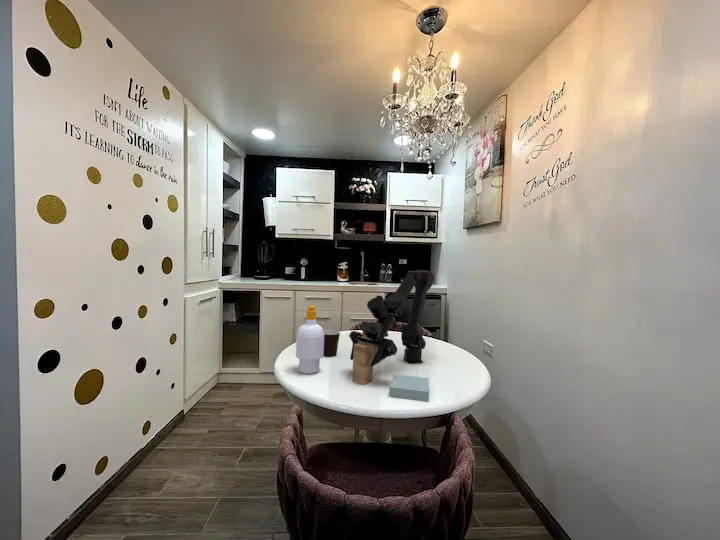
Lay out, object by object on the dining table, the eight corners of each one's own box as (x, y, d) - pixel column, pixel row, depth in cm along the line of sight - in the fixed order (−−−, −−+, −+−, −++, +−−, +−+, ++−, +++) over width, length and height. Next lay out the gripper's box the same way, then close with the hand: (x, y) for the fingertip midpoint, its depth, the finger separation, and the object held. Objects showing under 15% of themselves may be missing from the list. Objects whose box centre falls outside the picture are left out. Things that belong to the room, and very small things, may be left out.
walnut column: (361, 377, 118) (363, 341, 117) (372, 381, 114) (374, 344, 114) (352, 381, 114) (353, 344, 113) (363, 385, 110) (364, 347, 110)
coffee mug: (331, 359, 137) (332, 335, 137) (315, 355, 141) (316, 332, 141) (346, 352, 147) (347, 330, 147) (330, 349, 152) (331, 328, 151)
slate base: (393, 382, 114) (393, 374, 114) (428, 386, 112) (428, 378, 111) (389, 396, 102) (389, 387, 102) (428, 401, 100) (428, 391, 100)
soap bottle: (327, 369, 125) (330, 306, 124) (313, 377, 115) (316, 309, 114) (305, 364, 129) (307, 303, 128) (289, 372, 119) (291, 306, 119)
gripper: (353, 309, 122) (330, 343, 114) (394, 316, 110) (372, 355, 102) (365, 327, 129) (345, 361, 121) (405, 336, 117) (386, 374, 109)
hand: (360, 362), depth 113 cm, fingers open, 9 cm apart
